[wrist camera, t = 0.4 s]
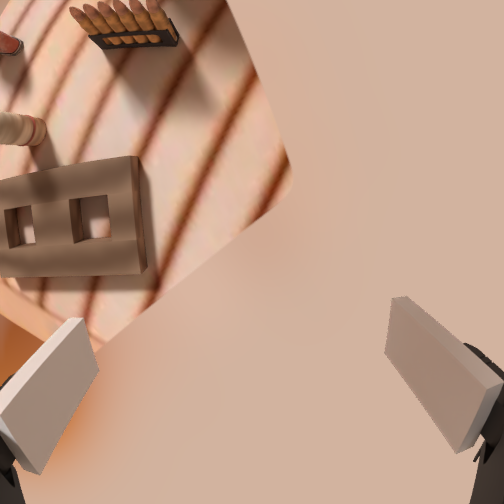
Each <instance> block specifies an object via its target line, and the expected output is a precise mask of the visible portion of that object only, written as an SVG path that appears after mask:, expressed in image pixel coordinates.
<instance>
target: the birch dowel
mask: <svg viewBox="0 0 504 504" xmlns="http://www.w3.org/2000/svg"><path fill="white" fill-rule="evenodd" d="M45 134H46V124H45V122H44V121H43V120H42V119H39V118H35V117H31V116H29V115H20V114H15V113H9V112H4V111H0V144H6V145H18V146H37V145H39V144H40V143H41V142H42V141H43V139H44V137H45Z"/></svg>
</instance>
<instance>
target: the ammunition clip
mask: <svg viewBox="0 0 504 504" xmlns="http://www.w3.org/2000/svg"><path fill="white" fill-rule="evenodd" d="M129 5H130V8H131V10H132V11H130V10H129V9H128V8H127V7H126V5H125V4H124V3H122V2H121V1H119V0H113V7H114V9H115V11H116V12H115V11H114V10H113V9H112V8H111V7H110V6H109V5H107V4H106V3H104V2H101V1H99V2H98V8H99V11H100V12H99V11H98V10H97V9H95V8H94V7H93V6H91V5H89V4H84V5H83V9H84V12H85V13H86V14H85V13H84V12H83V11H81V10H80V9H78V8H76V7H69V11H70V13H71V15H72V16H73V18H74V19H75V20H76V21H77V22H78V23H79V24H80V26H81V27H82V28H83V29H84V30H85V31H86V32H87V33H89V34H90V35H91V36H90V35H88V37H89V38H90V39H91V40H92V41H94V42H95V43H96V44H97V45H98V46H99V47H100V48H101V49H115V48H130V47H160V46H175V47H176V46H177V44H178V39H179V33H178V31H177V30H176V28H175V26H174V24H173V22H172V21H171V19H170V18H168V17H167V15H166V13H165V11H164V10H163V9H162V8H161V7H160V6H159V4H158V2H157V1H156V0H146V5H147V8H148V10H149V12H148V11H147V10H146V9H145V8H144V7H143V6H142V4H141V3H140V2H139V1H138V0H129Z"/></svg>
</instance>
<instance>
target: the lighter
mask: <svg viewBox="0 0 504 504" xmlns="http://www.w3.org/2000/svg"><path fill="white" fill-rule="evenodd" d="M22 47H23V41H21V40H20V39H18V38H16V37H14V36H11V35H7V34H5V33H3V32H1V31H0V54H2V55H6V56H15V55H17V54H18V53H19V52H20V51H21V49H22Z"/></svg>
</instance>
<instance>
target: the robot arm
mask: <svg viewBox="0 0 504 504" xmlns="http://www.w3.org/2000/svg"><path fill="white" fill-rule="evenodd" d="M385 355H386V356H387V357H388V359H389V360H390V361H391V363H392V364H393V365H394V367H395V368H396V369H397V371H398V372H399V373H400V375H401V376H402V378H403V379H404V380H405V382H406V383H407V385H408V386H409V387H410V389H411V390H412V391H413V393H414V394H415V395H416V397H417V398H418V400H419V401H420V403H421V404H422V405H423V407H424V408H425V410H426V411H427V412H428V414H429V415H430V417H431V418H432V420H433V421H434V423H435V424H436V425H437V427H438V428H439V430H440V431H441V433H442V434H443V436H444V437H445V439H446V440H447V442H448V443H449V444H450V446H451V447H452V449H453V450H454V452H455V453H456V454H457V453H460V452H462V451H464V450H466V449H468V448H470V447H473V446H474V444H475V442H476V441H477V439H478V437H479V435H480V434H481V435H482V436H483V437H484V439H485V441H484V442H483V444H482V446H481V448H480V449H479V451H478V453H477V454H476V456H475V458H474V460H473V462H476V460H477V459H478V457H479V456H480V458H479V464H478V470H477V474H476V479H475V483H474V488H473V492H472V496H471V500H470V503H469V504H504V372H503V371H502V370H501V369H500V368H499V367H498V366H497V365H496V364H495V363H492V361H491V360H490V359H489V358H488V357H485V355H484V354H483V353H482V352H481V351H480V350H479V349H477V348H475V347H474V346H471V345H469V344H467V343H462V342H460V341H459V340H458V339H457V338H456V337H455V336H454V335H452V334H451V333H450V332H449V331H448V330H447V329H445V328H444V327H443V326H442V325H441V324H440V323H438V322H437V321H436V320H435V319H434V318H433V317H431V316H430V315H429V314H428V313H426V312H425V311H424V310H423V309H422V308H421V307H419V306H418V305H417V304H416V303H415V302H413V301H412V300H411V299H410V298H408V297H398V298H392V302H391V311H390V319H389V326H388V334H387V341H386V347H385ZM98 372H99V368H98V365H97V362H96V359H95V356H94V352H93V349H92V346H91V343H90V339H89V336H88V332H87V329H86V325H85V322H84V318H69V319H68V320H67V321H66V322H65V323H64V324H63V325H62V326H61V327H60V328H59V329H58V330H57V331H56V332H55V333H54V334H53V335H52V336H51V337H50V338H49V339H48V340H47V341H46V342H45V343H44V344H43V345H42V346H41V347H40V348H39V349H38V350H37V351H36V352H35V353H34V354H33V355H32V357H31V358H30V359H29V360H28V361H27V362H26V363H25V364H24V365H23V366H22V367H21V368H20V369H19V370H18V371H17V372H16V373H14V374H13V375H11V376H10V377H9V378H8V379H7V380H6V381H5V382H4V383H3V384H2V386H1V387H0V504H25V500H24V497H23V494H22V490H21V487H20V483H19V479H18V475H17V471H16V469H15V467H14V466H13V465H12V464H13V462H14V460H15V459H16V460H17V461H18V462H19V464H20V465H21V467H22V468H23V469H24V470H26V471H29V472H32V473H35V474H38V475H41V473H42V471H43V469H44V467H45V465H46V463H47V461H48V460H49V458H50V456H51V454H52V452H53V450H54V448H55V446H56V445H57V443H58V441H59V439H60V437H61V435H62V434H63V432H64V430H65V428H66V426H67V425H68V423H69V421H70V419H71V418H72V416H73V414H74V412H75V411H76V409H77V407H78V406H79V404H80V402H81V400H82V399H83V397H84V395H85V394H86V392H87V390H88V389H89V387H90V385H91V384H92V382H93V380H94V379H95V377H96V375H97V373H98Z"/></svg>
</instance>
